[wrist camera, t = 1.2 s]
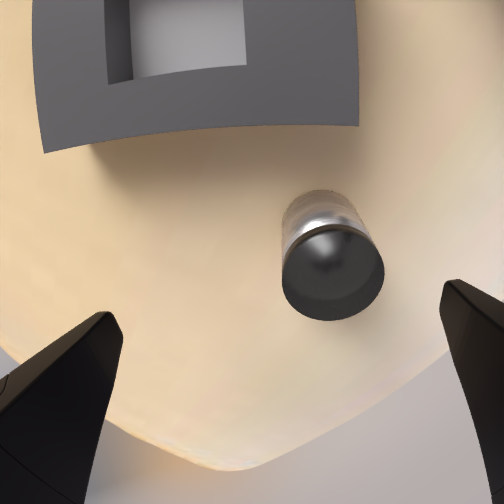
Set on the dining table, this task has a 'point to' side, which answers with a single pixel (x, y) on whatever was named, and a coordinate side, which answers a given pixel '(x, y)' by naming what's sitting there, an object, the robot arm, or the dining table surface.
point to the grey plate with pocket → (190, 66)
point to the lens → (328, 258)
